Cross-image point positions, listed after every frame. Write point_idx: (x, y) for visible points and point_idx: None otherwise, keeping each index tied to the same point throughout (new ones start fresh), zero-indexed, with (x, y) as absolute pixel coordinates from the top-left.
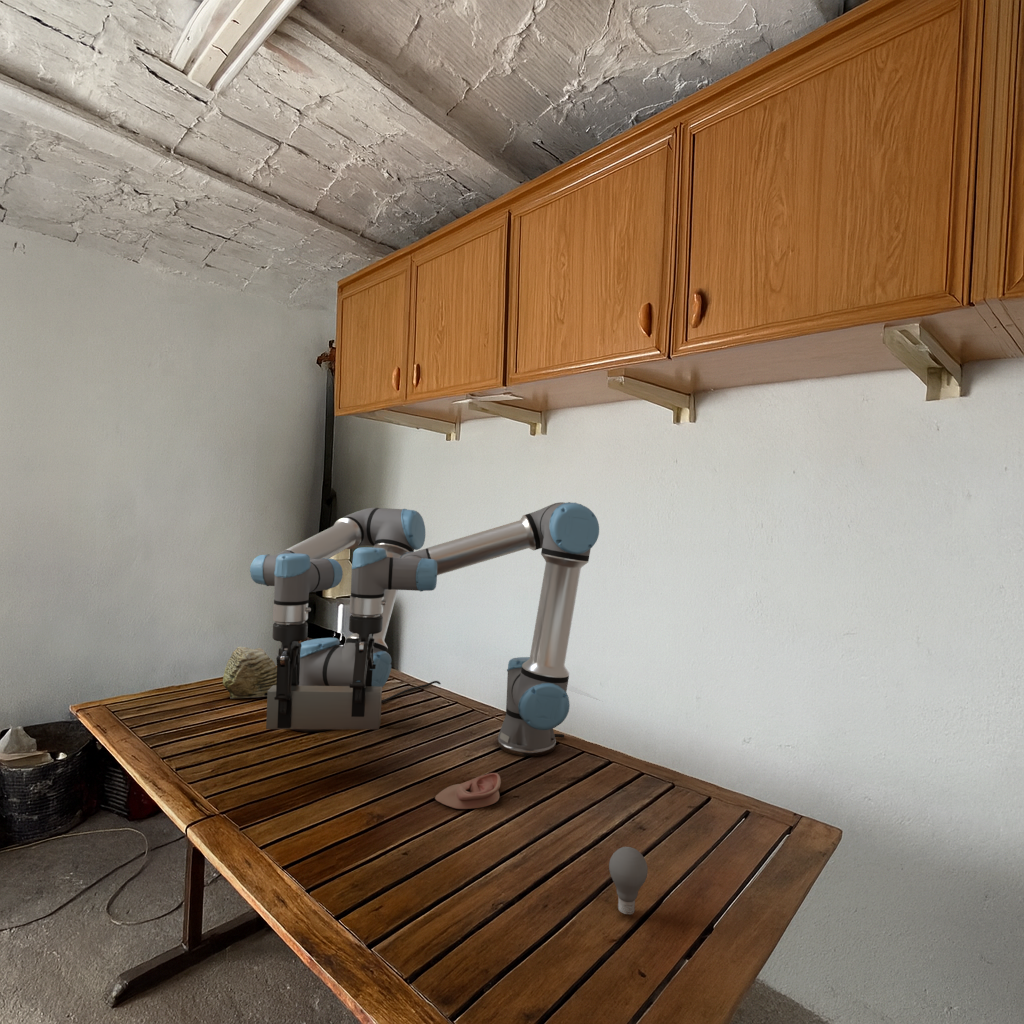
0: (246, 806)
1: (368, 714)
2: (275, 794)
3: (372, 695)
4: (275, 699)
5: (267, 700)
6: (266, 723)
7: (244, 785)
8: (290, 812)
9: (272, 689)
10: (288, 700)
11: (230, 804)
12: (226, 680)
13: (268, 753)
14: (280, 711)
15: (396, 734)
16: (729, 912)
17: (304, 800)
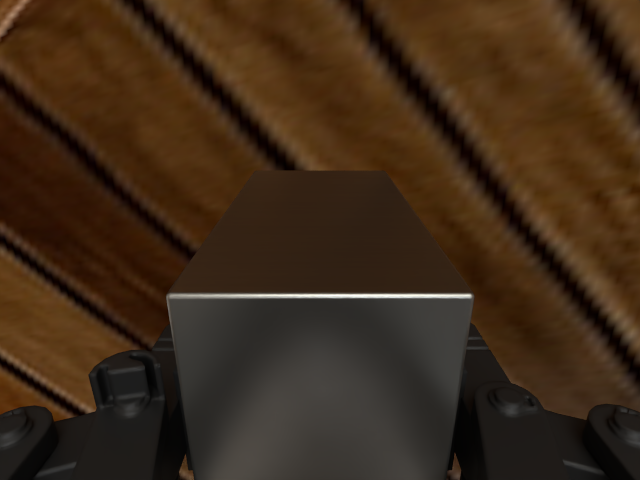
0: (44, 137)
1: None
2: (144, 209)
3: None
4: (116, 363)
5: (206, 243)
6: (249, 180)
7: (200, 77)
8: (38, 279)
9: (252, 341)
10: (187, 443)
11: (45, 74)
12: None
13: (510, 87)
14: (163, 337)
15: None
16: None
17: (118, 301)
